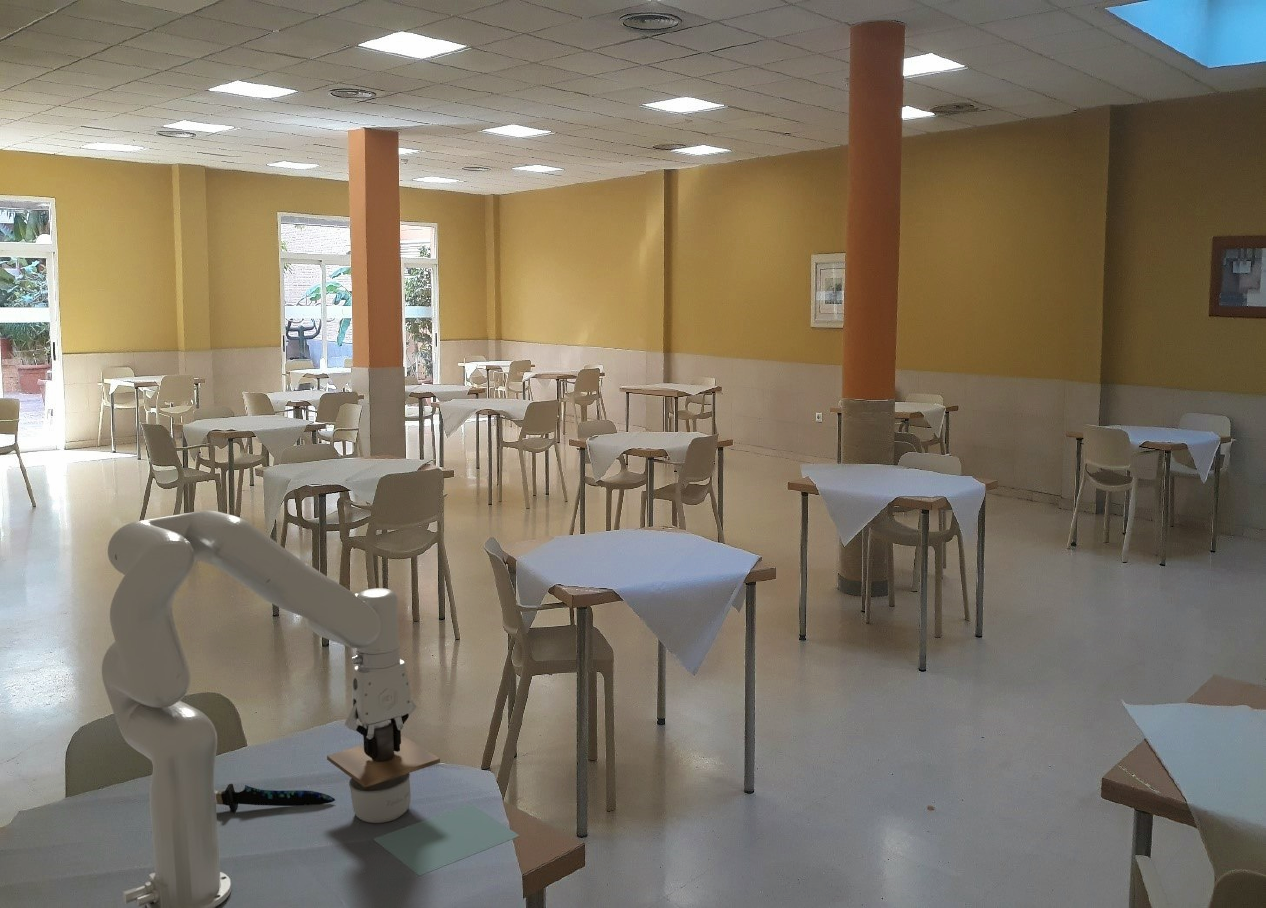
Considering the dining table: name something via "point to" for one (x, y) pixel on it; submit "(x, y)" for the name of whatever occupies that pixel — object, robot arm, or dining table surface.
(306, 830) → the dining table surface
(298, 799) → the knife
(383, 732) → the lid
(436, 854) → the mat
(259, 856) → the dining table surface
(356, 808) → the teacup
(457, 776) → the dining table surface
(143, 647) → the robot arm
